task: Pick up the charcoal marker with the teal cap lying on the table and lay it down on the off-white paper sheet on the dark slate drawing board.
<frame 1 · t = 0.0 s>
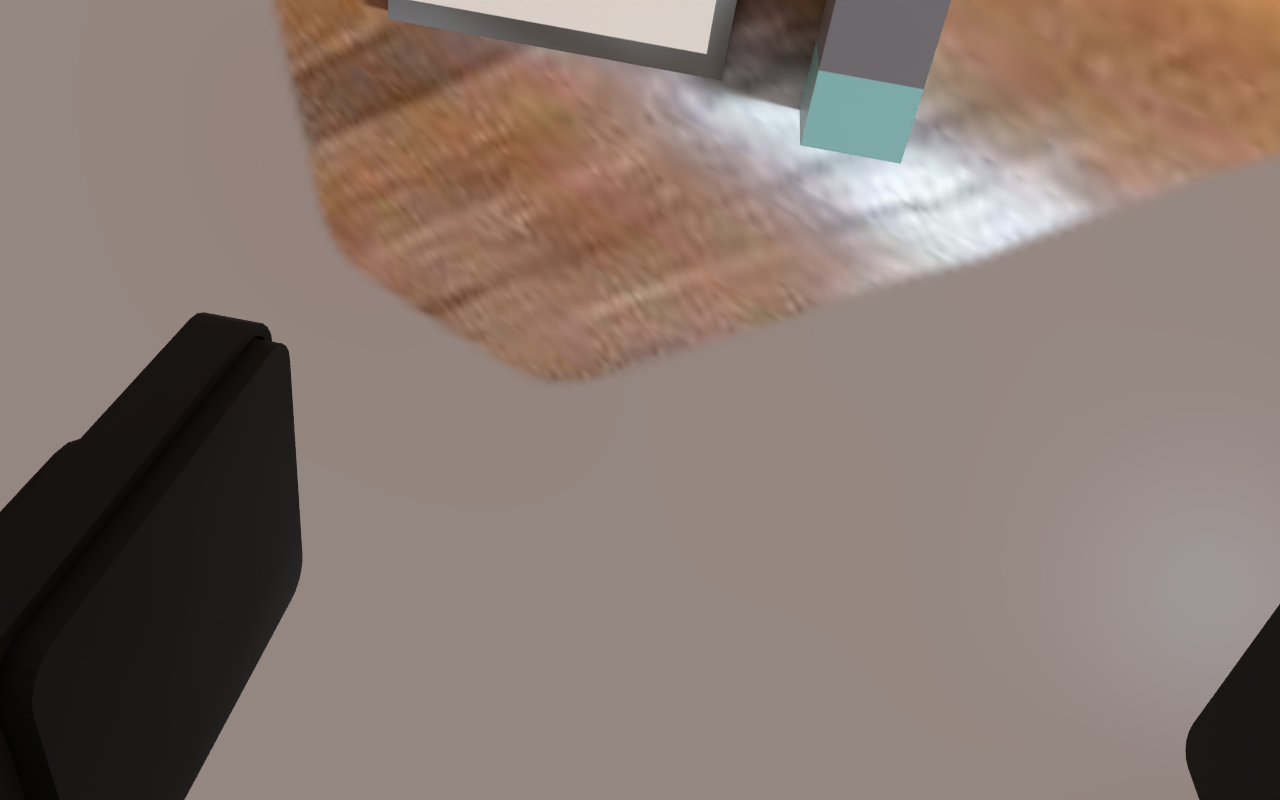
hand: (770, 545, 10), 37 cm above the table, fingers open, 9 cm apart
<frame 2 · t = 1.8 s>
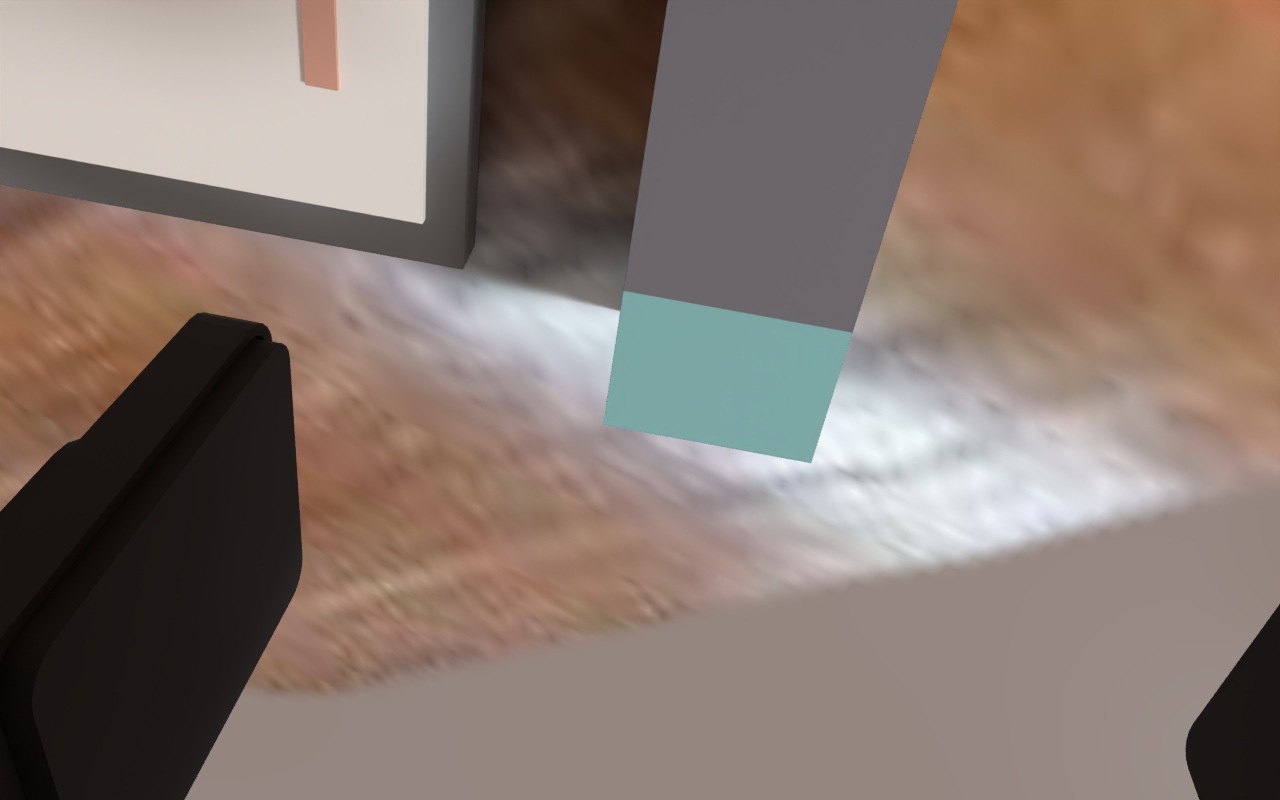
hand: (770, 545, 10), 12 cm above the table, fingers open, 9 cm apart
marker: (784, 35, 19), on the table
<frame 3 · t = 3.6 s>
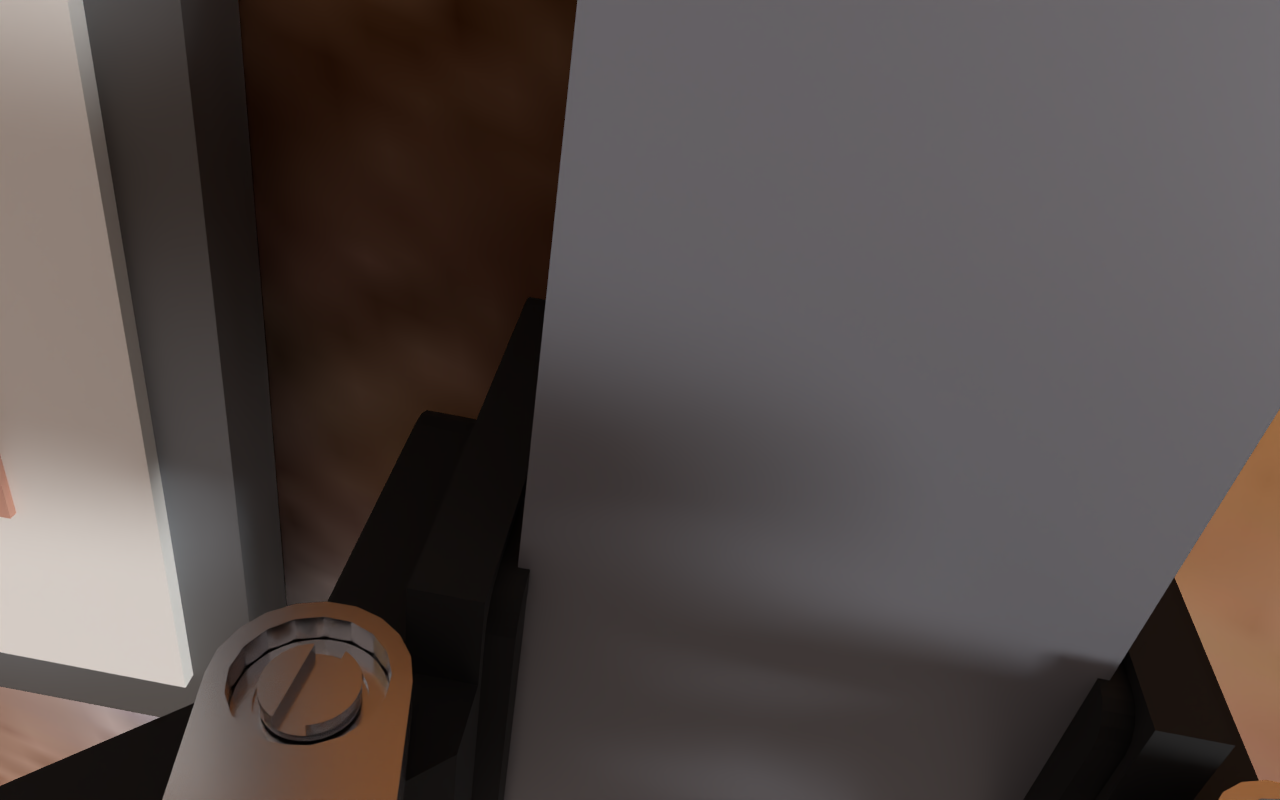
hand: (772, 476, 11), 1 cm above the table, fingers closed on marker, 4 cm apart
marker: (773, 438, 11), on the table, touching gripper
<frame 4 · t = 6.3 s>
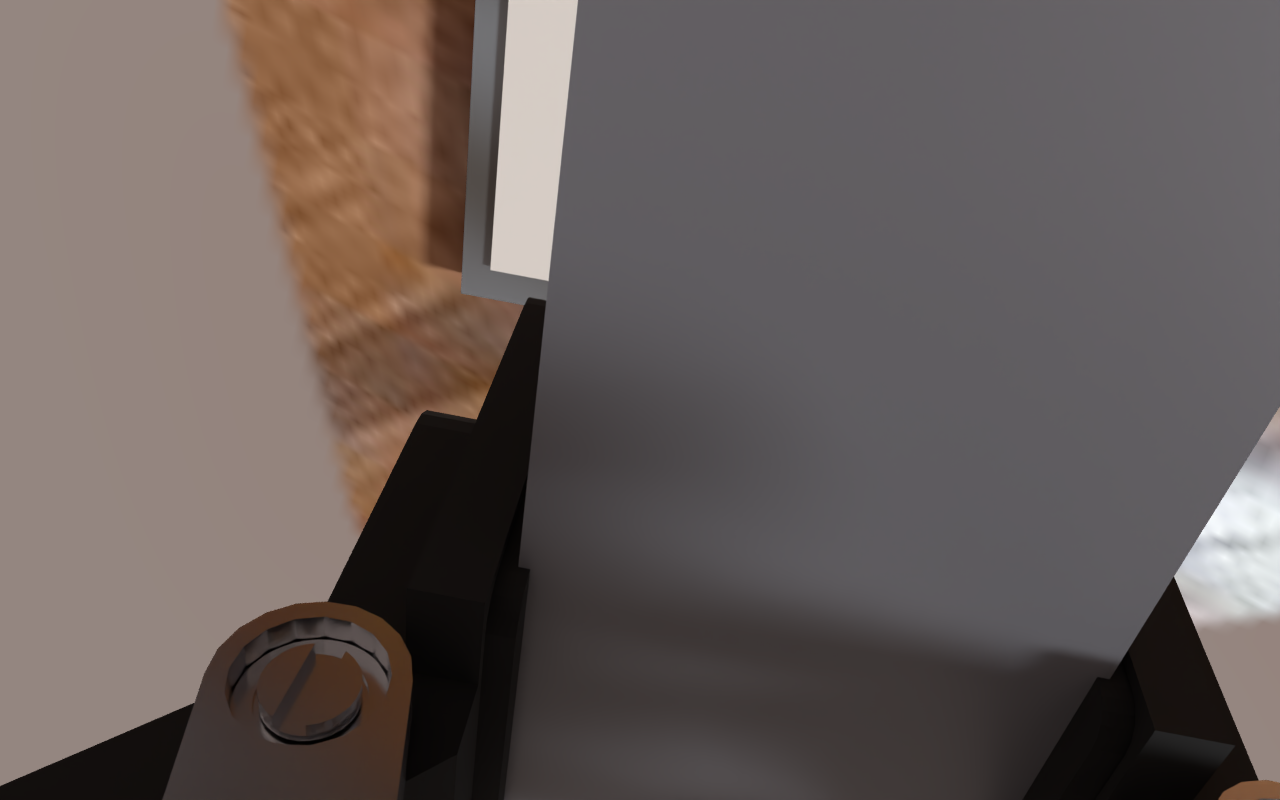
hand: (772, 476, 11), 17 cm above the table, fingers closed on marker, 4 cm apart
marker: (771, 444, 11), point 16 cm above the table, touching gripper
drawing board: (785, 11, 24), on the table
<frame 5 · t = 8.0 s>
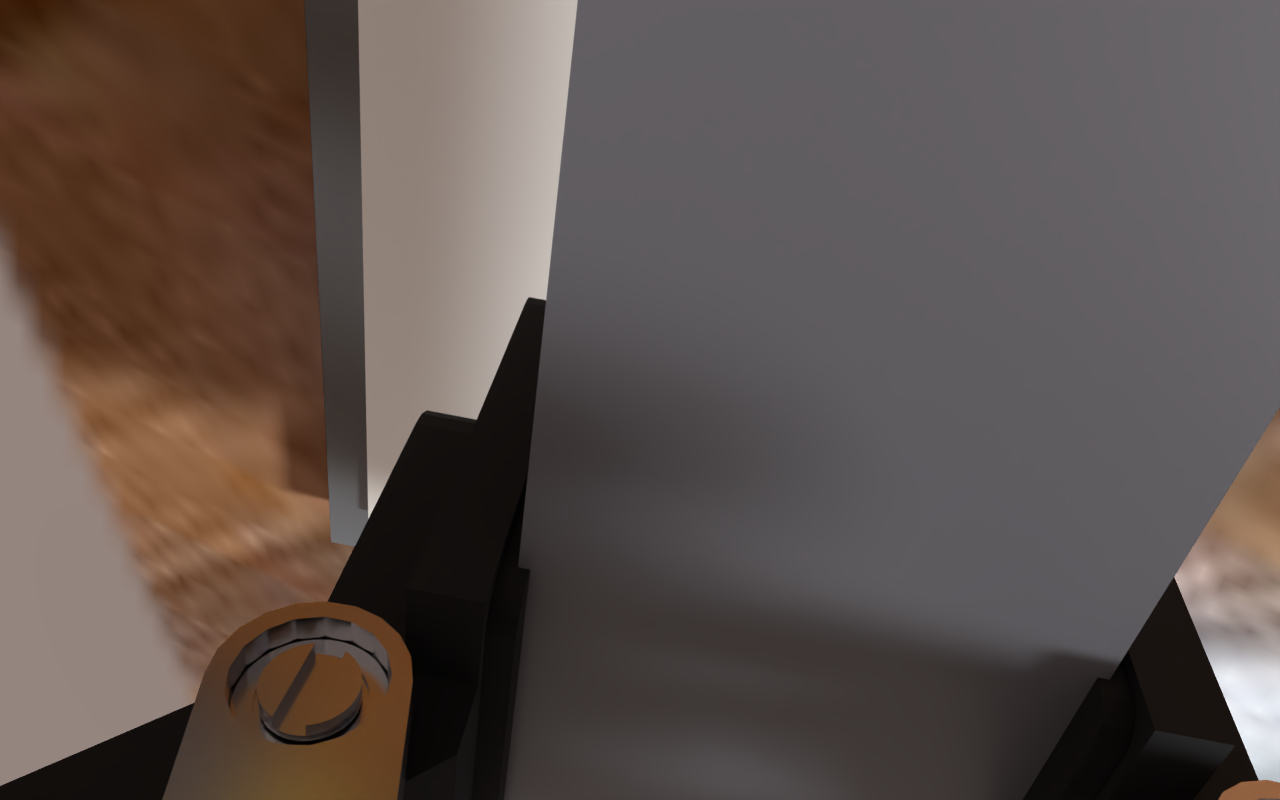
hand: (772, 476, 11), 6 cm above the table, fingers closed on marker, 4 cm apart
marker: (771, 445, 11), point 6 cm above the table, touching gripper
drawing board: (798, 176, 16), on the table
when the fingers open (3 cm above the table, at t = 9.4 s): marker drops 1 cm, resting on drawing board.
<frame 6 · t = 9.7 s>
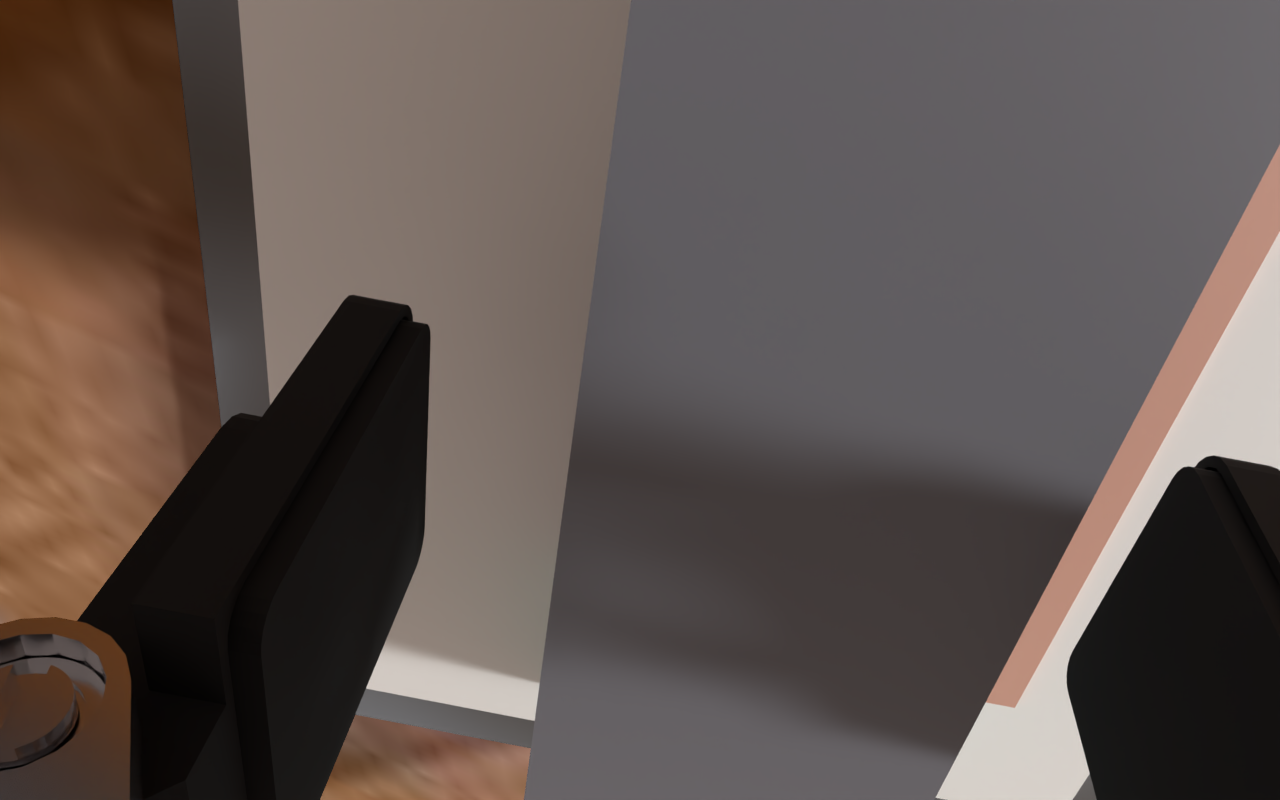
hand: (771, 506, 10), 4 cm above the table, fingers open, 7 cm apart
marker: (783, 367, 12), point 1 cm above the table, touching drawing board
drawing board: (776, 308, 13), on the table
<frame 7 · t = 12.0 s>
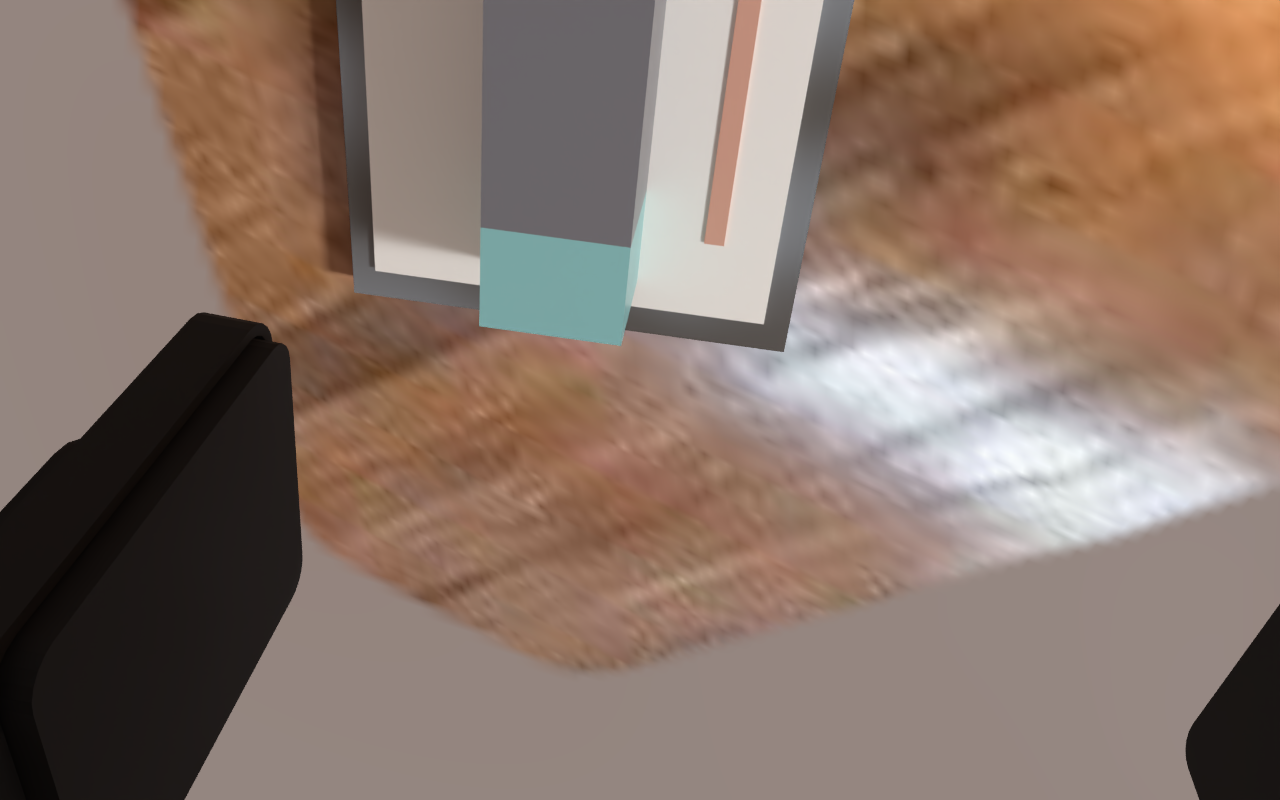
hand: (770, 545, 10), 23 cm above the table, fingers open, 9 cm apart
marker: (587, 61, 29), point 1 cm above the table, touching drawing board
drawing board: (590, 46, 30), on the table
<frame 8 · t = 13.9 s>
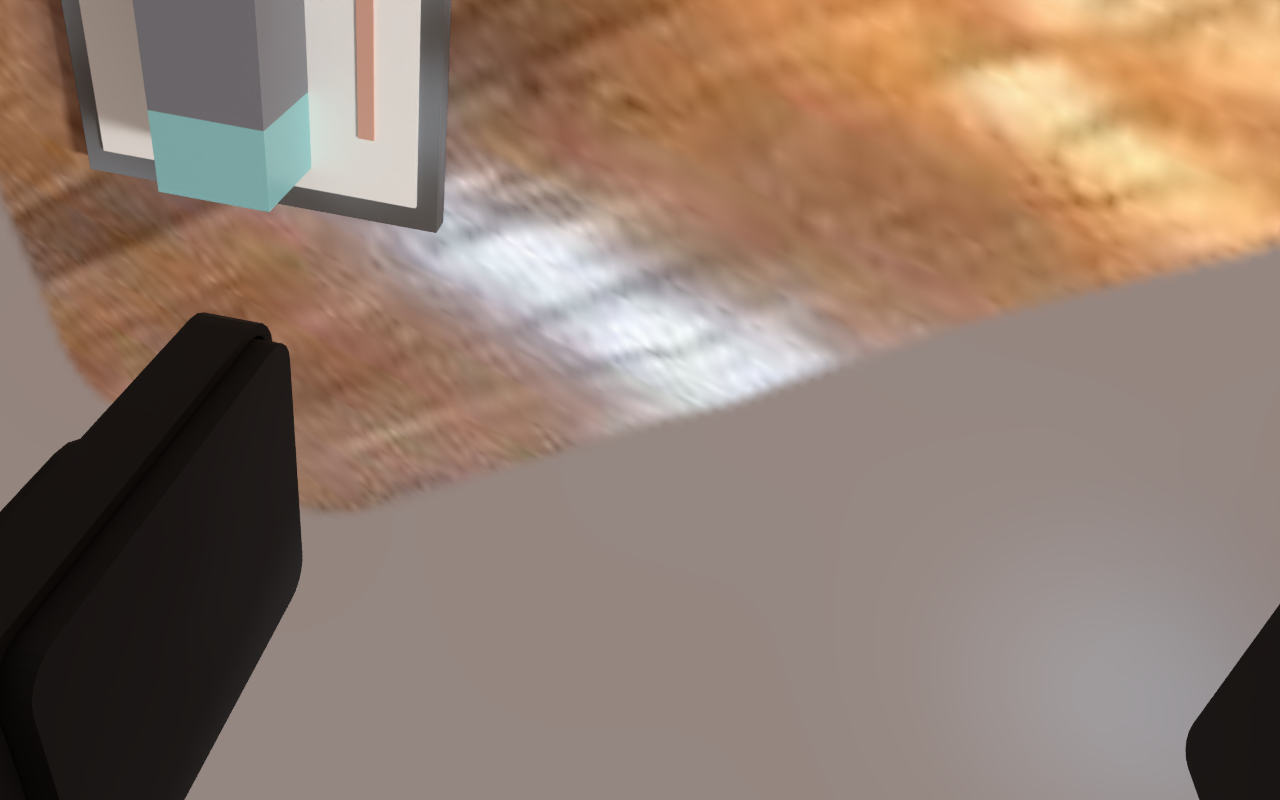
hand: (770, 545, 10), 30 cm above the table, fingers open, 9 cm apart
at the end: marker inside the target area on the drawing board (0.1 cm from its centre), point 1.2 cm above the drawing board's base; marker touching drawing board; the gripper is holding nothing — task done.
